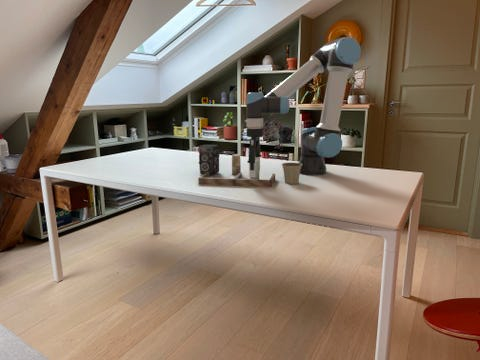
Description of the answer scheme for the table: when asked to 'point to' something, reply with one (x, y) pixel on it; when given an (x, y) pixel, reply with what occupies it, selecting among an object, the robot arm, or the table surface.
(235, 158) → the beech post
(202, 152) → the camera
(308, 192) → the table surface
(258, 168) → the sage post
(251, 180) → the rack
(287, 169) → the flower pot
